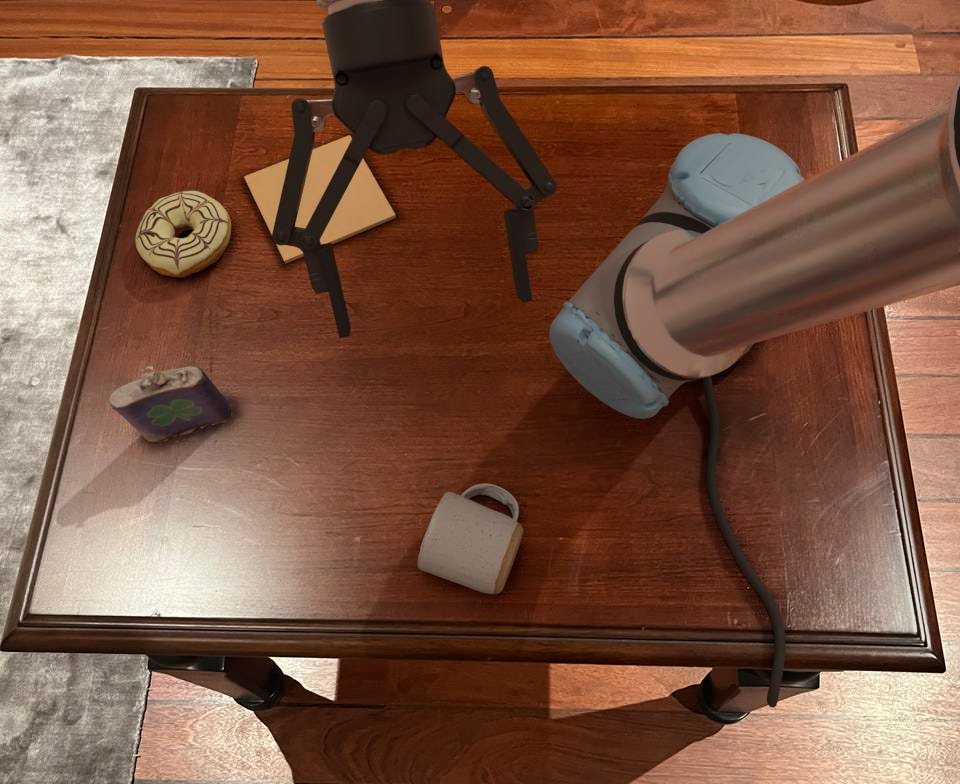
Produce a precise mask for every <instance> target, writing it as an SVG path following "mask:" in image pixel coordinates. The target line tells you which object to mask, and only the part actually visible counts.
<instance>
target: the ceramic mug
mask: <svg viewBox="0 0 960 784" xmlns="http://www.w3.org/2000/svg"><path fill="white" fill-rule="evenodd" d="M475 496H487V497H489V498H492V499H494V500H496V501H498V502H500V503H501V504H502V505H504V506H507V507H508V508H509V510H510V512H511V515H512V517H510V516H509V515H507V514H504V513H502V512H500V511H497V510H494V509H492V508H489V507H487V506H484V505H482V504H481V503H478V502H476V501H473V500H471V498H473V497H475ZM519 515H520V507H519V503H518V501H517V500H516V498H515V496H513V494H511V492H509V491H508V490H506V489H505V488H503V487H501V486H498V485H496V484H492V483H487V482H485V483H478V484H474V485H472V486H470V487H469V488H466V490H464V491H463V492H462V493H461V494H458V493H456V492H452V491H446V492H445V493H444V494H443V496H442V497H441V499H440V500H439V502H438V504H437V505H436V507H435V509H434V512H433V514H432V516H431V519H430V521H429V524H428V527H427V528H426V531H425V533H424V536H423V539H422V542H421V545H420V550H419V553H418V557H417V568H418V569H419V570H420V571H422V572H425V573H428V574H431V575H434V576H435V577H436V576H437V577H439V578H442V579H444V580H447V581H450V582H452V583H455V584H459V585H461V586H463V587H467V588H469V589H471V590H474V591H477V592H479V593H484V594H489V595H497V594H500V593H502V591H503V590H504V587H505V586H506V583H507V580H508V578H509V575H510V572H511V570H512V568H513V565H514V561H515V559H516V556H517V553H518V551H519V548H520V545H521V542H522V538H523V536H524V528H523V526H522V524H521V523H520V522H518V519H519Z"/></svg>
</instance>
